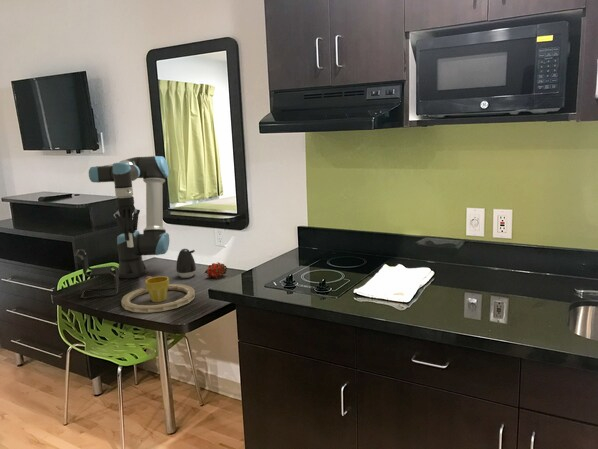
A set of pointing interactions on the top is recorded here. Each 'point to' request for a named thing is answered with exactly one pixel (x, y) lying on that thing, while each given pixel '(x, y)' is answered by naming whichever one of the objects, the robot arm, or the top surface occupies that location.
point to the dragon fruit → (216, 270)
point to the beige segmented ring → (158, 308)
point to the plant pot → (157, 288)
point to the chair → (97, 274)
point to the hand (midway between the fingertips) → (130, 246)
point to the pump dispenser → (185, 264)
